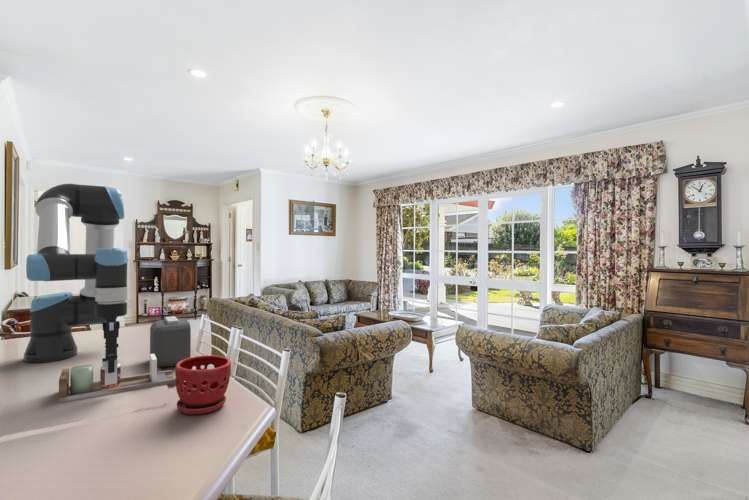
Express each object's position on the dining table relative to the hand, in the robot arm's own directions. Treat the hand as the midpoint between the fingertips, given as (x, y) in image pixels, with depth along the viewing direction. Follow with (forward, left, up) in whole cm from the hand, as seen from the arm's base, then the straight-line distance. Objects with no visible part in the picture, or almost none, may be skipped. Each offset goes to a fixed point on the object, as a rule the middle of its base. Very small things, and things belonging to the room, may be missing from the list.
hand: (110, 377), depth 108 cm
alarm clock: (-22, +18, -4) cm, 28 cm away
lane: (0, +2, -4) cm, 5 cm away
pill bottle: (0, 0, -3) cm, 3 cm away
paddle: (0, +12, -3) cm, 12 cm away
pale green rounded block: (0, -6, -3) cm, 7 cm away
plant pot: (+26, +20, -4) cm, 33 cm away
